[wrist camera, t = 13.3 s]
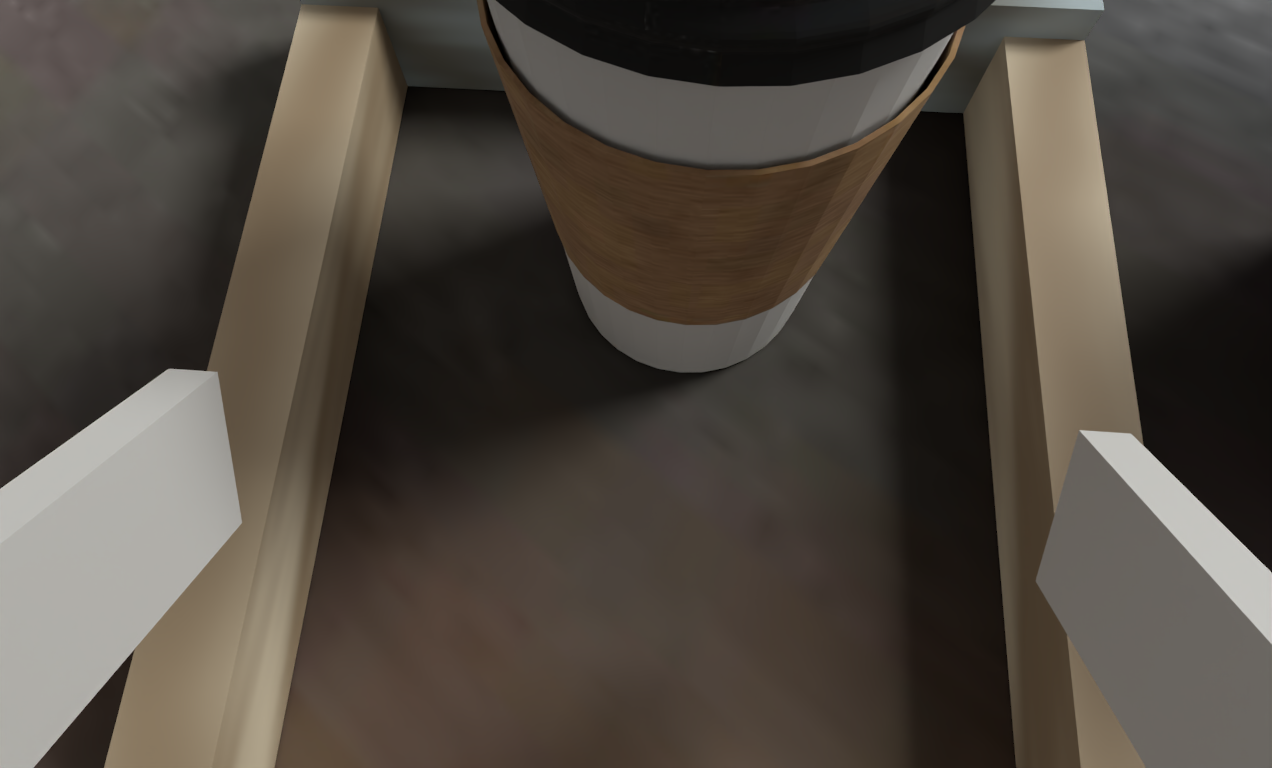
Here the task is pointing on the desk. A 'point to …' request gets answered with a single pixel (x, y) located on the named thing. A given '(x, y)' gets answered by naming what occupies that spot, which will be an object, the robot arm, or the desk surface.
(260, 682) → the guide channel
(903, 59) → the coffee cup
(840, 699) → the desk surface
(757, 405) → the desk surface
